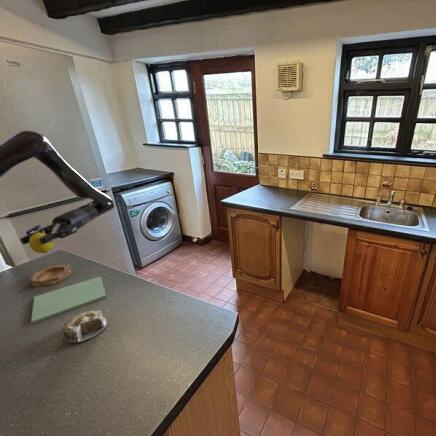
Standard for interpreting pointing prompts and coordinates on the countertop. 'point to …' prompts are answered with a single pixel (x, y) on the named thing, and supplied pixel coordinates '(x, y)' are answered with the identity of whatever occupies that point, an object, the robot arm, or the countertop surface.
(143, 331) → the countertop surface
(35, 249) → the lemon
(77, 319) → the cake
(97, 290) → the mat
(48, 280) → the holder
